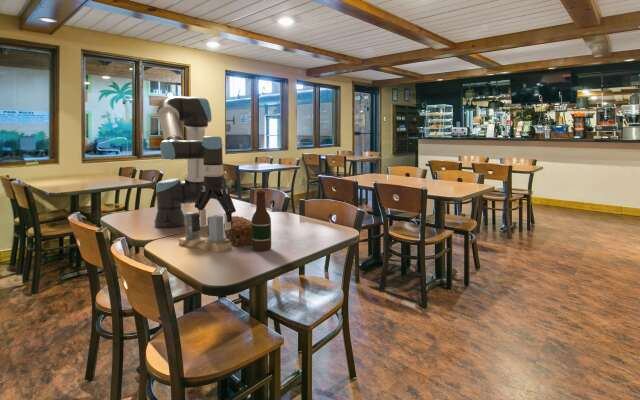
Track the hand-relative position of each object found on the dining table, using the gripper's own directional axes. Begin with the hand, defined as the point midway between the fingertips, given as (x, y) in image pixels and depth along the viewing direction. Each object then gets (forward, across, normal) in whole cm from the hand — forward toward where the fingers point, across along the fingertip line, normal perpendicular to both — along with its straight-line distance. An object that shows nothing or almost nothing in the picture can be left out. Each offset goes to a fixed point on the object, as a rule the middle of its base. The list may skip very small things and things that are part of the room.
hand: (215, 227), depth 163 cm
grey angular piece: (+9, -6, 0) cm, 11 cm away
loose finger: (+6, +1, 0) cm, 6 cm away
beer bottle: (+9, +17, +9) cm, 21 cm away
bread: (+9, +1, +14) cm, 17 cm away
